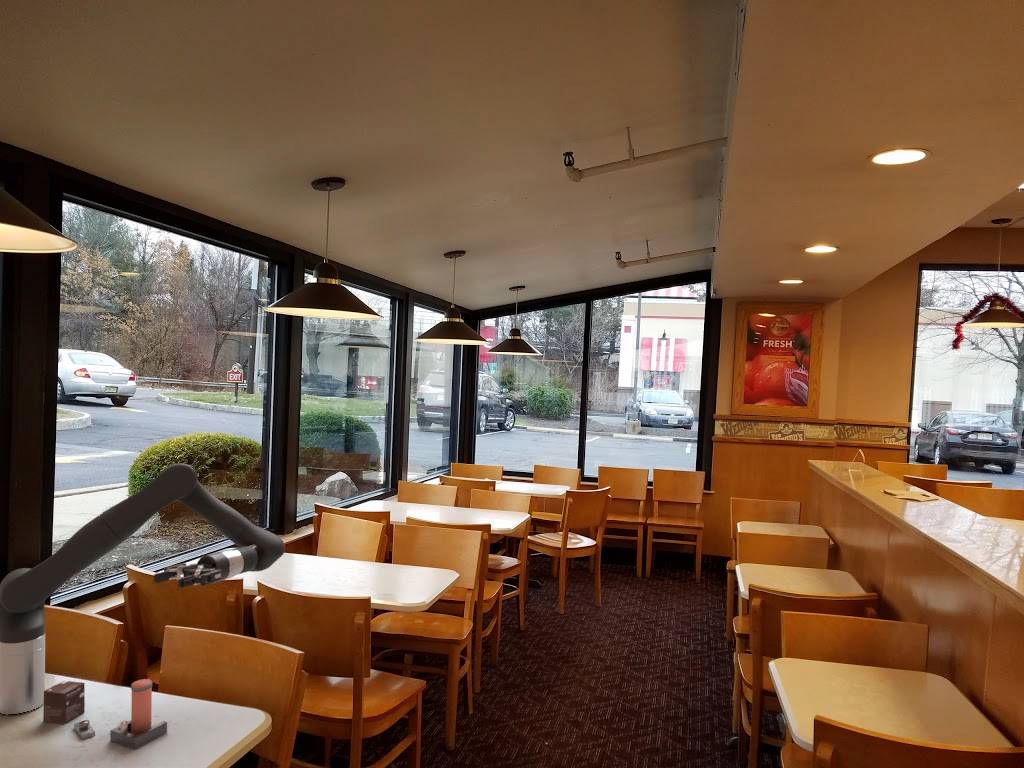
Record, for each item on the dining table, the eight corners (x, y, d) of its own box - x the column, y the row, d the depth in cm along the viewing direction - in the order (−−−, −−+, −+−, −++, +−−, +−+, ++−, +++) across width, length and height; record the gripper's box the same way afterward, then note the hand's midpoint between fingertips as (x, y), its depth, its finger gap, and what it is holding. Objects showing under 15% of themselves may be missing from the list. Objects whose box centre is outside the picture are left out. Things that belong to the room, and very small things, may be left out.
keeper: (108, 742, 152) (108, 719, 152) (142, 725, 159) (143, 703, 159) (133, 750, 149) (133, 727, 148) (167, 732, 156) (167, 711, 156)
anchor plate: (73, 728, 158) (73, 718, 158) (86, 724, 160) (86, 714, 160) (82, 739, 153) (82, 729, 153) (94, 735, 155) (95, 725, 155)
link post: (128, 735, 155) (128, 682, 155) (148, 729, 158) (148, 677, 158) (134, 742, 152) (134, 688, 152) (154, 736, 155) (155, 683, 155)
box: (64, 725, 159) (64, 693, 159) (42, 722, 160) (42, 691, 160) (85, 712, 165) (85, 682, 165) (64, 710, 166) (64, 679, 166)
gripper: (201, 548, 184) (147, 562, 169) (241, 555, 178) (187, 569, 163) (201, 576, 184) (146, 592, 169) (240, 583, 178) (187, 601, 163)
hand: (166, 581), depth 166 cm, fingers open, 8 cm apart
